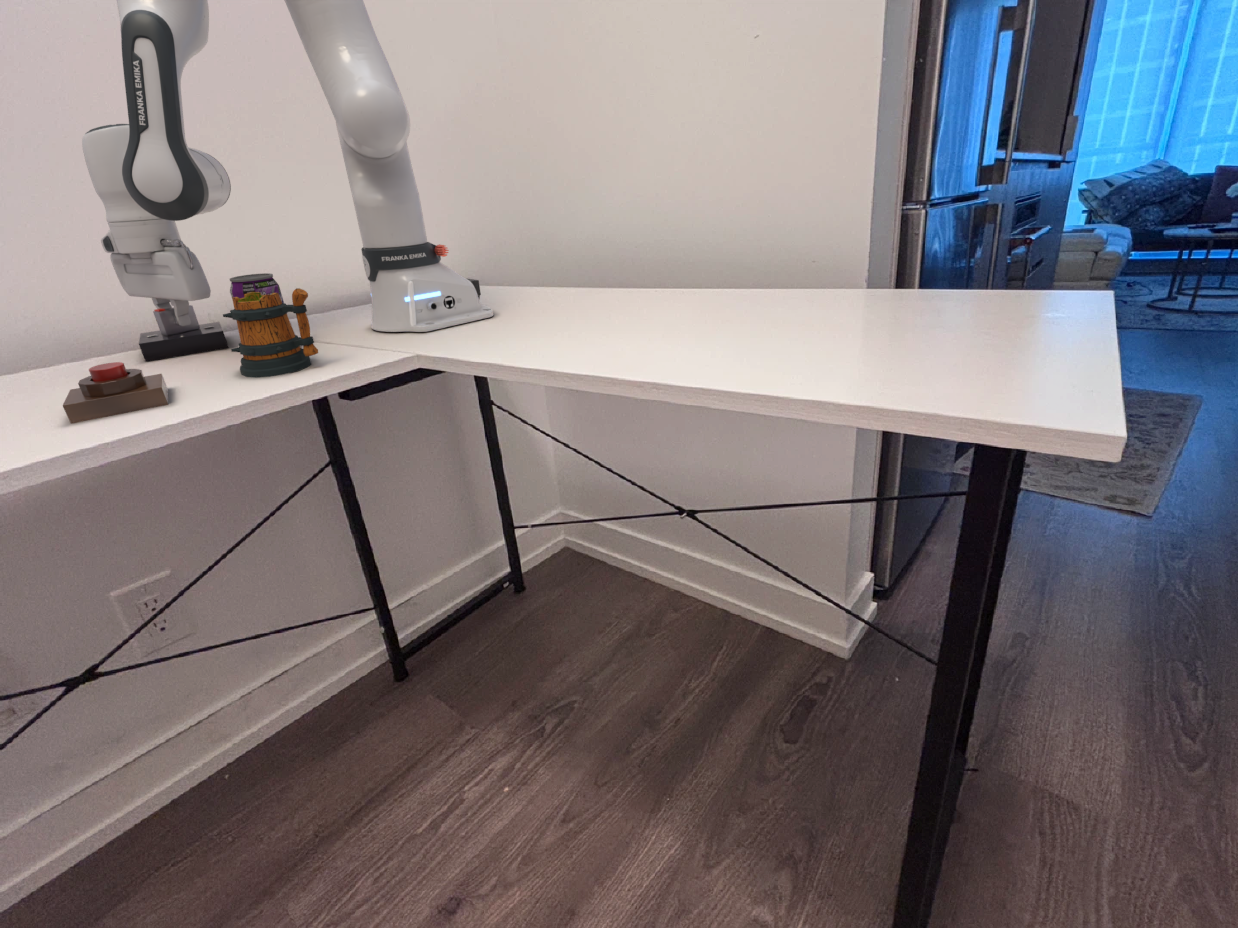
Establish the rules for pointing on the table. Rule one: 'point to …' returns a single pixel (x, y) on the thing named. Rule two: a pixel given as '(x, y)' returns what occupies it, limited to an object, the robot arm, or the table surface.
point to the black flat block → (182, 342)
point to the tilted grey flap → (168, 322)
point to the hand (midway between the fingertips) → (178, 324)
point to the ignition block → (115, 396)
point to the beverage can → (254, 285)
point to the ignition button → (108, 371)
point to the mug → (272, 334)
